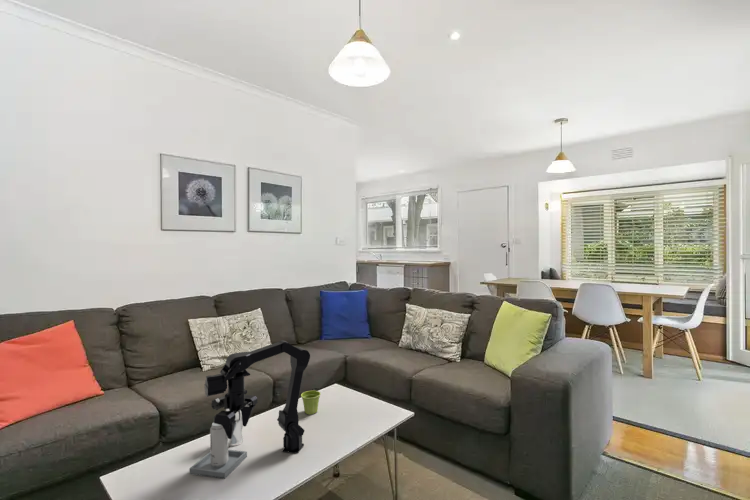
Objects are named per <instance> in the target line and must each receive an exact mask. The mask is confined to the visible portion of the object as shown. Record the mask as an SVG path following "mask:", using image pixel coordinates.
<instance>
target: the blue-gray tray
mask: <svg viewBox="0 0 750 500" xmlns="http://www.w3.org/2000/svg"><path fill="white" fill-rule="evenodd" d="M246 458H248V451H245V450H235V449H228V461H227V463H226V465H224V466H222V467H218V468H216V467H213V466H212V465H211V450H210V451H209V452H207V453H206V454H205V455H204V456H203V457H201V459H199V460H198V461H197V462H196V463H194V464H193V465H192V466H191V467H190V468H189V469H188V471H189V475H193V476H200V477H201V476H202V477H209V478H216V479H223V480H225V479H226V478H227V477H228V476H230V474H231V473H233V471H234V470H236V469H237V467H238V466H239V465H240V464H242V462H244V461H245V459H246Z"/></svg>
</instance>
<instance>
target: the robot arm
mask: <svg viewBox="0 0 750 500" xmlns="http://www.w3.org/2000/svg"><path fill="white" fill-rule="evenodd" d="M282 353H285V354H287V355H289V356H290V357H289V361H290V362H289V364H290V367H291V373H290V378H289V384H288V390H287V394H286V401H285V406H284V408H283V409H280V410H278V417H277V419H276V420H277V422H278V426H279V427H280V428H281V430H282V431H284V435H283V438H282V439H283V445H282V446H283V449H282V452H283V453H292V454H298V453H299V452H300V451H301V449H303V447H304V445H305V444H304V443H303V436H304V433H305V428H303V427H302V426H301V425H300V424H299V421H300V418H299V411H298V405H299V399H300V395H301V394H300V393H301V388H302V381H303V376H304V372H305V370H306V369H307V367H308V366H309V363H310V359H311V353H310V352H309V351H308V350H307V349H305V348H303V347H300V346H296V347H295V346H294V345H292V344H290V343H289V342H288V341H287V340H283V339H281V340H279V341H278V342H275V343H272V344H269V345H266V346H263V347H262V346H261V347H260V348H256V349H254V350H251V351H239V352H235V353H231V354H229V355H228V356H227V358H226V360H225V363H224V366H223V367H222V368H221V370H220V372H219V374H218V373H217V374H212V375H206V376H205V382H204V394H205V397H212V396H215V395H220V394H224V393H225V392H227V393H225V395H223V396H220V397H219V398H218V397H217V398H214V399H213V400H211V406H210V407H211V409H213V410H215V411H218V410H219V409H222V408H224V410H221V411H220V412H218V413H216V415H214V416H213V422H214V423H215V424H220V425H222V426H223V428H224V430H225V432H226V434H227V437H228V439H231V438H232V435H233V431H234V427H235V422H236V420H235V418H236V416H235V414H236V413H237V412H238V411H240V410H241V413H242V422H243V427H247V424H248V423H249V421H250V418H251V416H252V413H253V411H254V409H255V408H256V405H257V404H258V397H257V396H256V395H252V394H251V395H250V394H248V390H246V388H245V385H246V384H245V377H249V376H250V375H251V373H250V372H249V371H247V369H249V368H250V367H251V366H252V365H254V364H255V363H259V362H260V361H264V360H265V359H269V358H271V357H275V356H277V355H280V354H282ZM226 409H229V411H226Z"/></svg>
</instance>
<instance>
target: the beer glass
mask: <svg viewBox="0 0 750 500" xmlns="http://www.w3.org/2000/svg"><path fill="white" fill-rule="evenodd" d="M225 411H229V409H225ZM235 416H236V418H235V420H236V422H235V427H234V431H233V435H232V438H231V439H228V447H229V446H230V447H236V446H239V445H241V444H242V443H243V442H244V438H243V427H244V426H243V422H242V413H241V410H240V411H238V412H237V413H236V414H235Z"/></svg>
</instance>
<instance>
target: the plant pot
mask: <svg viewBox="0 0 750 500" xmlns="http://www.w3.org/2000/svg"><path fill="white" fill-rule="evenodd" d="M300 397H301V399H302V403H303V408H304V413H305V414H306V415H314V414H317V413H318V411H319V401H320V397H321V392H320V391H318V390H307V391H303V392H302V393H301V394H300ZM316 412H317V413H316Z"/></svg>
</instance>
